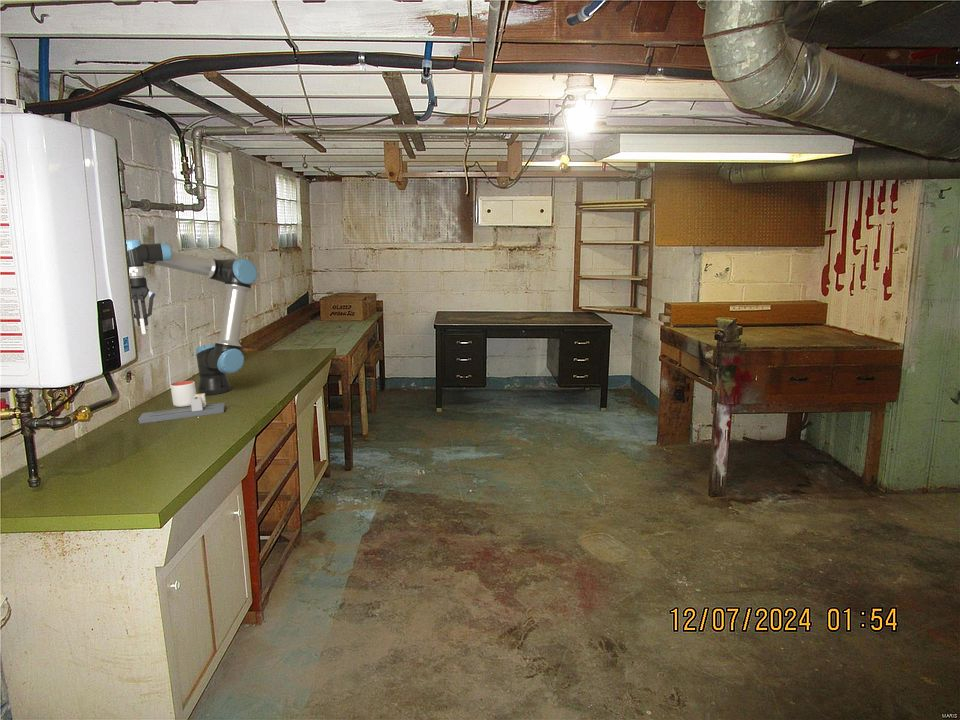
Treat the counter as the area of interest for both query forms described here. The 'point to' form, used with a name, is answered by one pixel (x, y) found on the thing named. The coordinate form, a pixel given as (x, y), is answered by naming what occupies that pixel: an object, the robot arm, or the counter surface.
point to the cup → (183, 393)
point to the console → (180, 413)
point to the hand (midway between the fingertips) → (144, 333)
